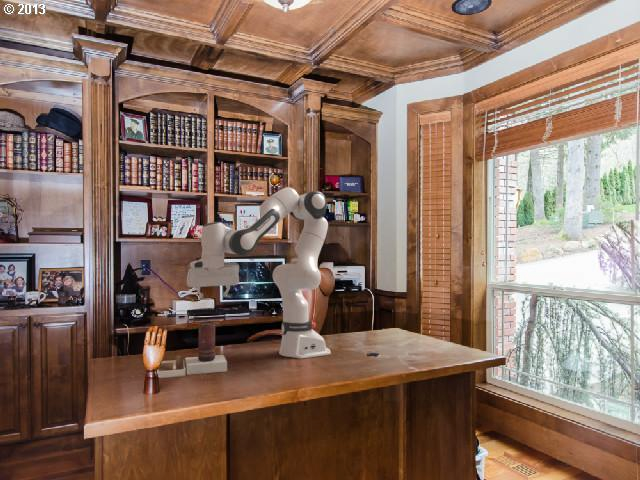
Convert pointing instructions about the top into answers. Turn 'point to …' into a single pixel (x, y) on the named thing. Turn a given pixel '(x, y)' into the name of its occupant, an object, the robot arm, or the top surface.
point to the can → (206, 342)
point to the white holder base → (205, 365)
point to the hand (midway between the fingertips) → (213, 297)
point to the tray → (172, 371)
